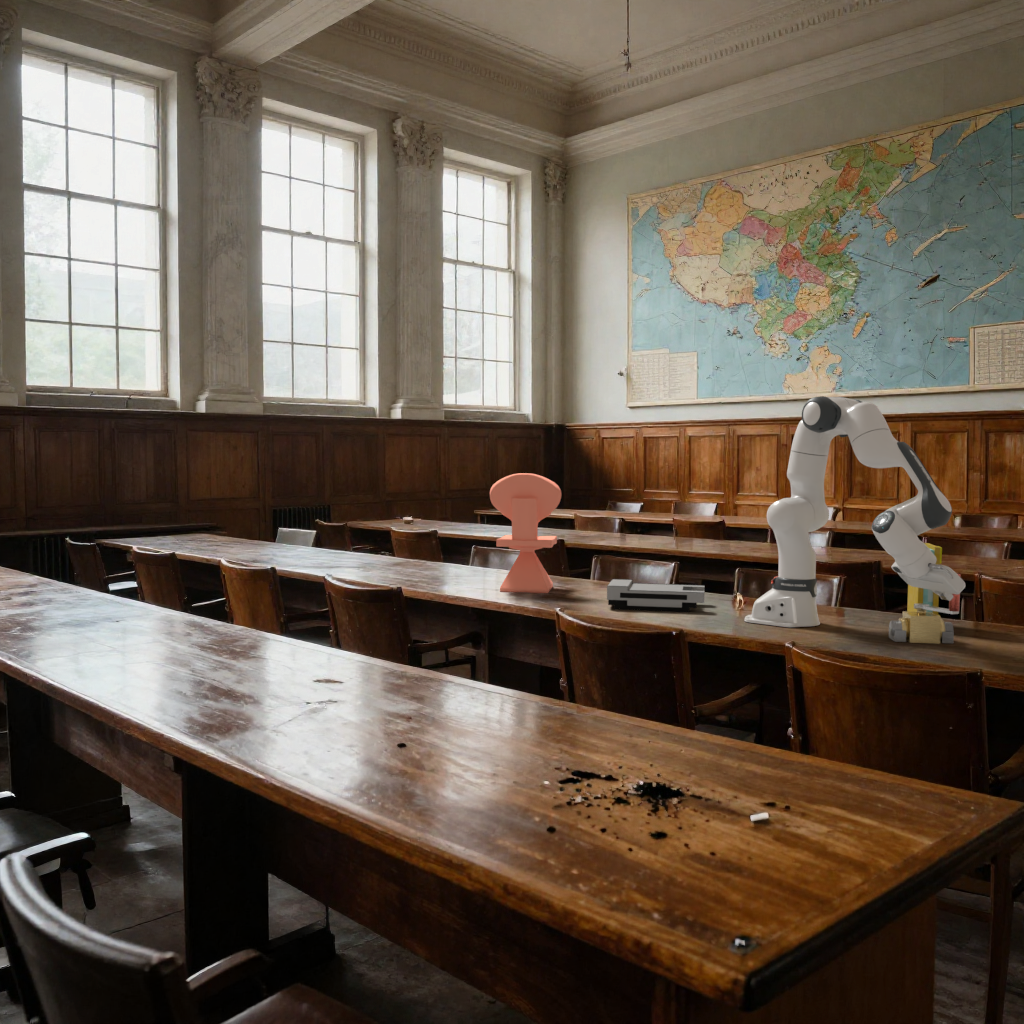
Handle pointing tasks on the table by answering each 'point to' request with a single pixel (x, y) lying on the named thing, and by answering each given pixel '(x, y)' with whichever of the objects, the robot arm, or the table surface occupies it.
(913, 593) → the book
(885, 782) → the table surface
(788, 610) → the robot arm
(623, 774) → the table surface
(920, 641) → the valve body
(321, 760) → the table surface
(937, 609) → the lever
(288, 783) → the table surface
